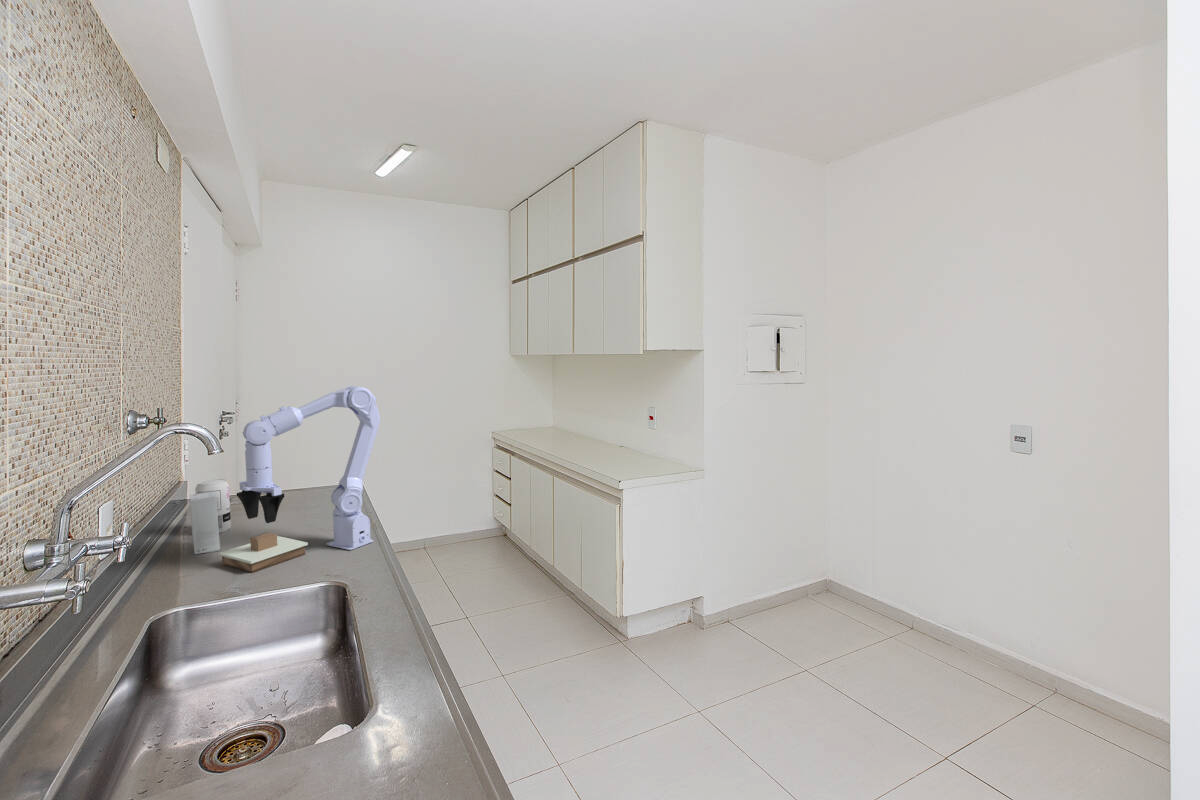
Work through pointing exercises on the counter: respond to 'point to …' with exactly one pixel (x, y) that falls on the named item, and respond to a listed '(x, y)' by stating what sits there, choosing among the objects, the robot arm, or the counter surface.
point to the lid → (263, 548)
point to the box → (263, 561)
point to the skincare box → (204, 523)
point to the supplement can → (218, 500)
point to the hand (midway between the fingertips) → (261, 519)
